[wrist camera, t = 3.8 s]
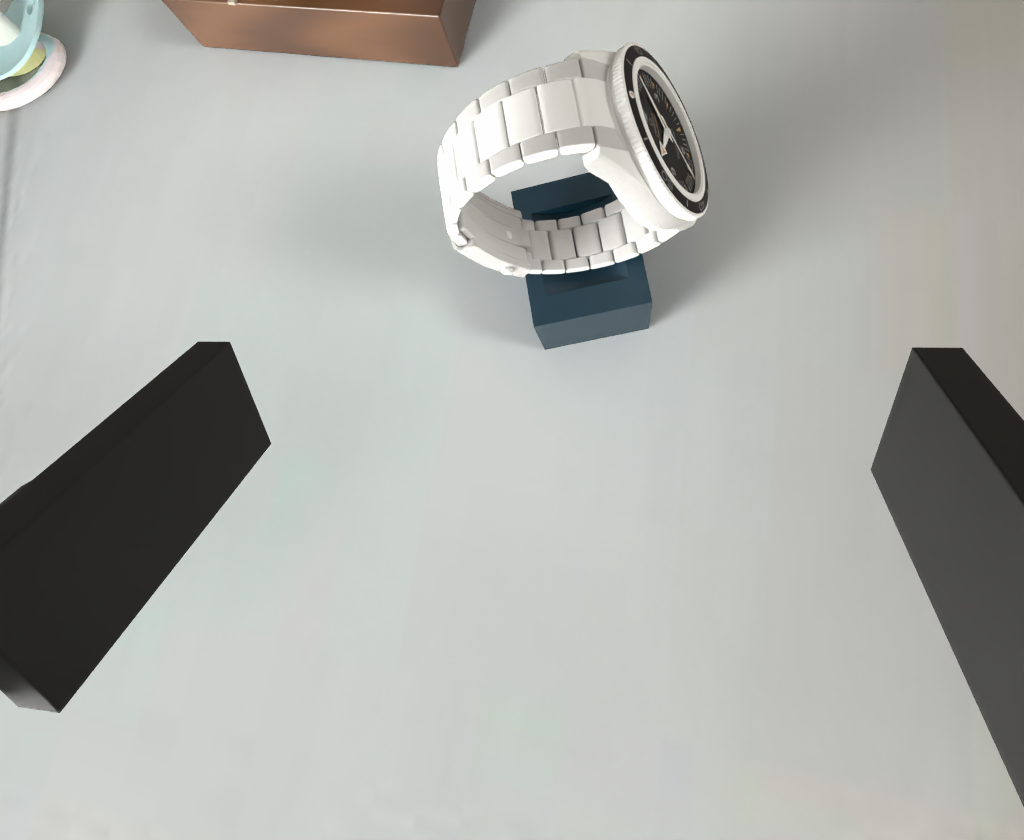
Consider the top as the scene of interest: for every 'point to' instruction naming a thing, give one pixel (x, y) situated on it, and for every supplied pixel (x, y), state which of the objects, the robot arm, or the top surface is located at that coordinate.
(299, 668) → the top surface
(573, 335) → the watch
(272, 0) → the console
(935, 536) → the robot arm
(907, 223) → the top surface
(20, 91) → the pacifier
